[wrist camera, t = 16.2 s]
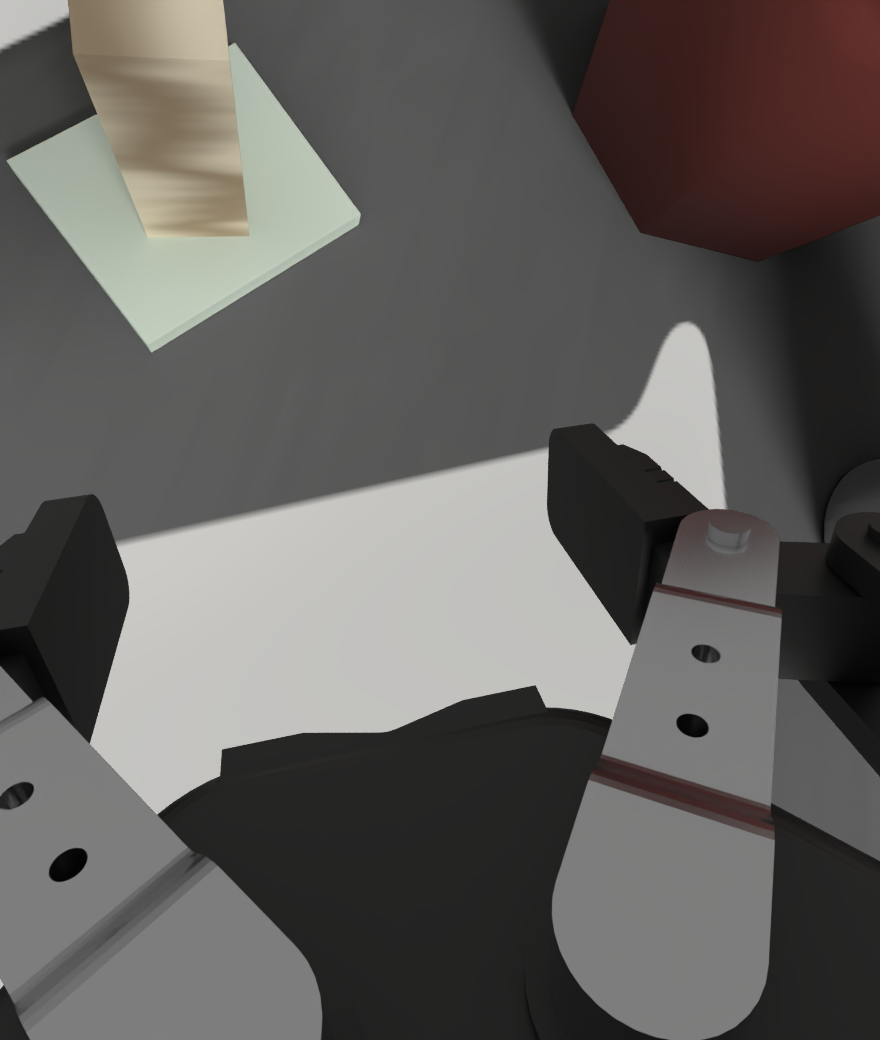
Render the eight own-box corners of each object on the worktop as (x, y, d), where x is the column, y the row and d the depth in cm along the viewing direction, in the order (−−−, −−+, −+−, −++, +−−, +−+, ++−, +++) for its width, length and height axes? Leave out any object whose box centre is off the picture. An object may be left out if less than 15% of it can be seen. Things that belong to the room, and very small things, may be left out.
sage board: (236, 58, 34) (235, 42, 33) (358, 224, 34) (360, 214, 33) (15, 174, 31) (6, 160, 30) (151, 352, 32) (147, 345, 31)
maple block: (239, 145, 32) (214, -74, 22) (249, 236, 32) (229, 60, 21) (138, 143, 31) (60, -87, 21) (147, 237, 31) (72, 53, 20)
